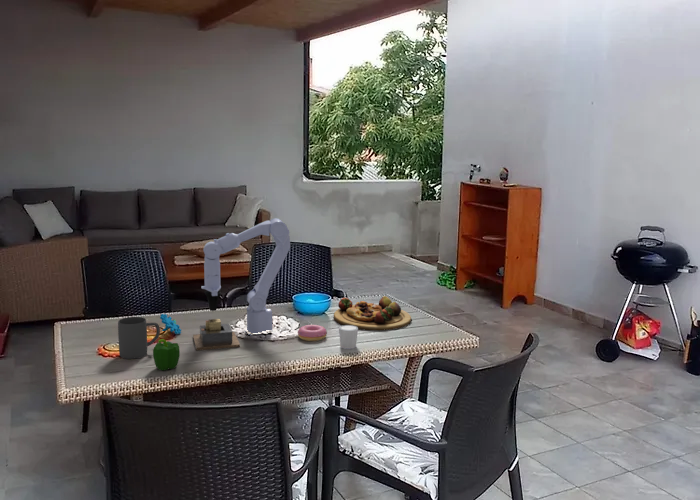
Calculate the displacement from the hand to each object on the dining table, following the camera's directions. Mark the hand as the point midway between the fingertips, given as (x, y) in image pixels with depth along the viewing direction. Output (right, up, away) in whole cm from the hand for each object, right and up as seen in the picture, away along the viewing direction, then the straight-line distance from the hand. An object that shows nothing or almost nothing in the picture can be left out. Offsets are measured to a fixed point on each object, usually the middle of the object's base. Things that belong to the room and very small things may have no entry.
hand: (213, 310), depth 241 cm
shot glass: (+50, -12, -8) cm, 52 cm away
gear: (-16, -9, +2) cm, 19 cm away
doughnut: (+37, -11, +1) cm, 38 cm away
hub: (+3, -11, -7) cm, 13 cm away
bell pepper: (-8, -16, -33) cm, 37 cm away
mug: (-20, -13, -20) cm, 32 cm away
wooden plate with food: (+60, -7, +26) cm, 66 cm away
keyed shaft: (+2, -10, -7) cm, 12 cm away
